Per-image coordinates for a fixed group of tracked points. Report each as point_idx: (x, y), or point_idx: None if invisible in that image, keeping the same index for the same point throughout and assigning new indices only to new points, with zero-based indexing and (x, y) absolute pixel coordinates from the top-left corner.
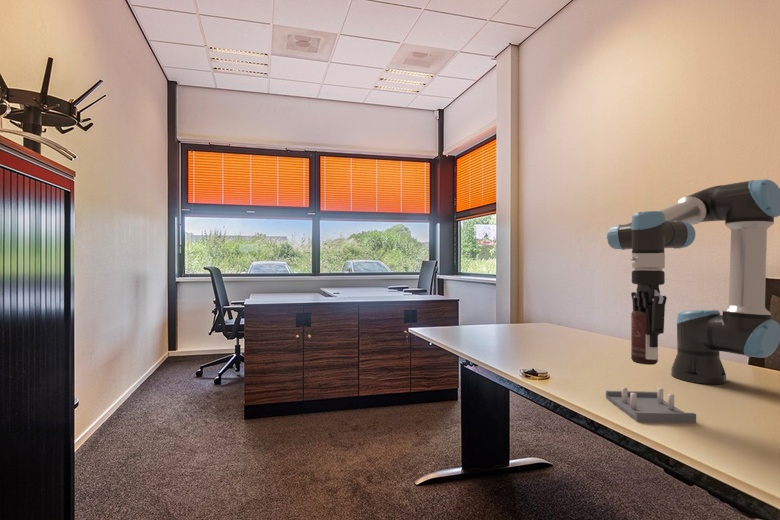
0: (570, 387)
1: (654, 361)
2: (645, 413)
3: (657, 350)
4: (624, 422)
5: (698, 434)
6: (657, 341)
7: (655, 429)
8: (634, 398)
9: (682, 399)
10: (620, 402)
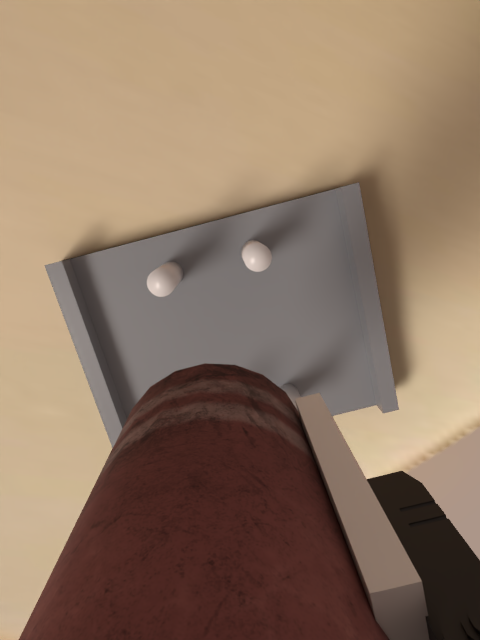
0: (29, 567)
1: (290, 402)
2: (393, 379)
3: (343, 437)
4: (401, 433)
5: (466, 217)
6: (452, 524)
7: (447, 350)
8: None
9: (3, 135)
10: None
